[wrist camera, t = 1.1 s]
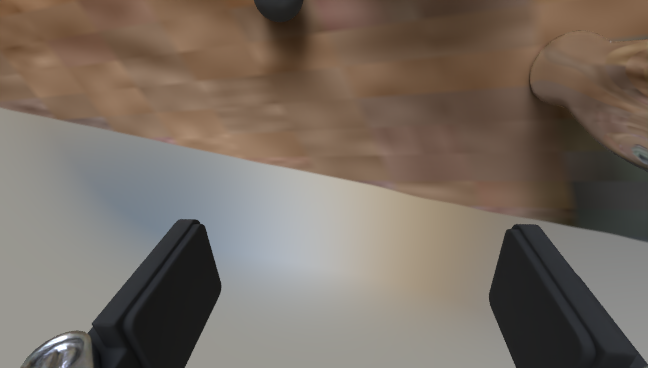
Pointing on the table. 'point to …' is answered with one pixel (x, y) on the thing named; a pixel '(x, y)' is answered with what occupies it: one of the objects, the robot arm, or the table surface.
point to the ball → (279, 9)
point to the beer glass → (599, 89)
